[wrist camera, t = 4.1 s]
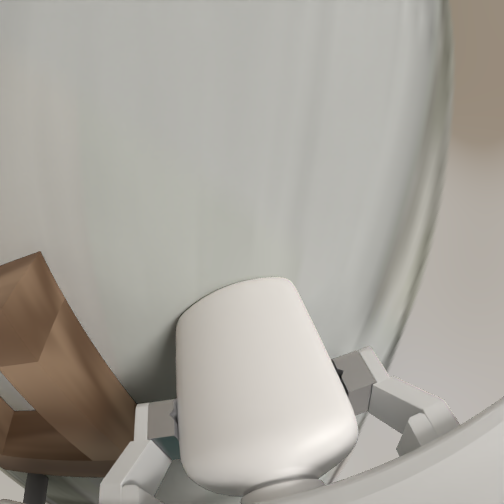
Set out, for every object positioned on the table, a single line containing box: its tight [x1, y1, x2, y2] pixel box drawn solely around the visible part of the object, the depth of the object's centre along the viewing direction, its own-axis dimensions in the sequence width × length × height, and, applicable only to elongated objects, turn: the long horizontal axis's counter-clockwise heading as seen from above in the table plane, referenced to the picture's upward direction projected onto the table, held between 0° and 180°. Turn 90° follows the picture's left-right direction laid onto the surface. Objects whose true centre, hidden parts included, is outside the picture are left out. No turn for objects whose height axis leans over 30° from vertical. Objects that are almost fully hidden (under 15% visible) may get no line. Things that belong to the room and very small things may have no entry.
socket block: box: [0, 252, 137, 477], centre depth 13 cm, size 13×13×4 cm
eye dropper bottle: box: [176, 277, 358, 504], centre depth 10 cm, size 4×6×12 cm
